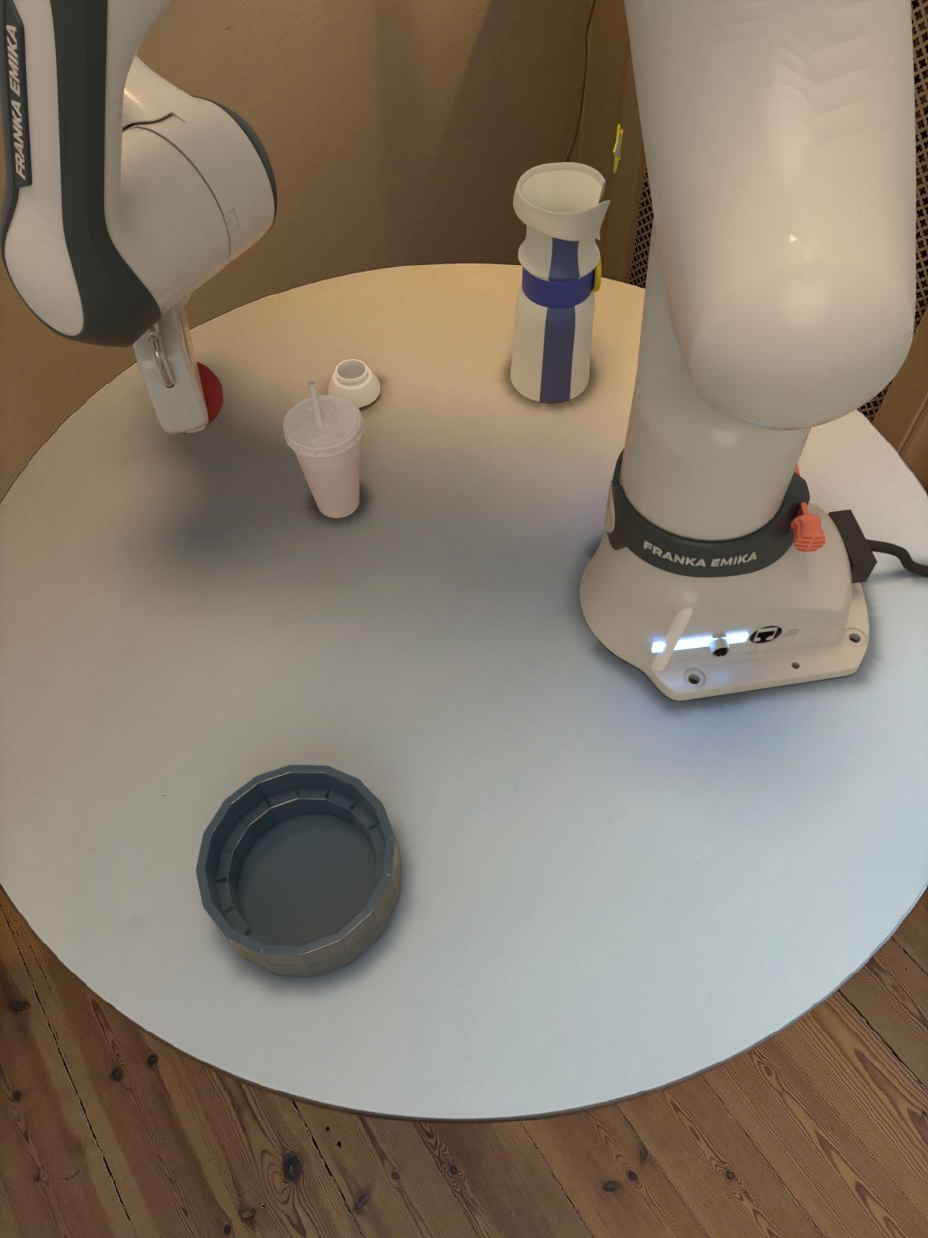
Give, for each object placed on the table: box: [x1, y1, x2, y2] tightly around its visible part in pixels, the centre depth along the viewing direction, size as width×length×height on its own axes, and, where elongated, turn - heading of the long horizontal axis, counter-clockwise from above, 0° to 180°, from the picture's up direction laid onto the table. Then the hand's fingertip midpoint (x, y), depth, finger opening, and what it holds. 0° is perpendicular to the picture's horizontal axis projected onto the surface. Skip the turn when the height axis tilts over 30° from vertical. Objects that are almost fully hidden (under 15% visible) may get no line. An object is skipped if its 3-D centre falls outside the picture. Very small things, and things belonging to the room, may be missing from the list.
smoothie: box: [282, 380, 365, 519], centre depth 75 cm, size 6×6×14 cm
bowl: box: [195, 764, 402, 977], centre depth 59 cm, size 12×12×6 cm
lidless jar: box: [327, 358, 381, 409], centre depth 87 cm, size 5×3×5 cm
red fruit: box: [196, 360, 224, 428], centre depth 80 cm, size 6×6×8 cm
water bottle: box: [510, 123, 624, 404], centre depth 79 cm, size 8×9×25 cm
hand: (189, 399), depth 81 cm, fingers closed on red fruit, 6 cm apart
